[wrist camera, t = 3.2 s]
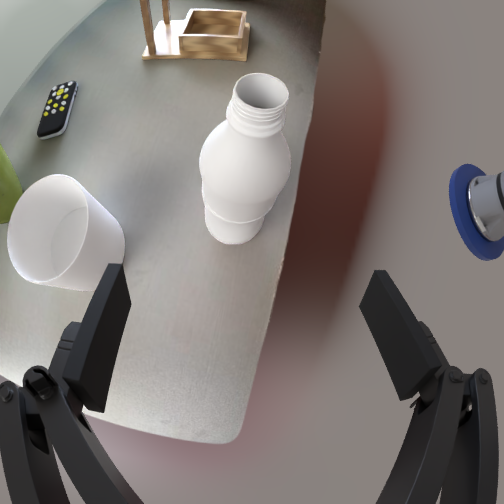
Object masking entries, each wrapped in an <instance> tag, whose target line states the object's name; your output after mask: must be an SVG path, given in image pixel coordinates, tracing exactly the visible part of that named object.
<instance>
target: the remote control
mask: <svg viewBox="0 0 504 504" xmlns="http://www.w3.org/2000/svg"><path fill="white" fill-rule="evenodd" d="M77 89H78V85H77V83H76V82H75V81H70V82H66V83H63V84H60V85H57V86H55V87H54V88H53V89H52V90H51V92H50V95H49V97H48V100H47V103H46V106H45V109H44V111H43V115H42V118H41V121H40V124H39V127H38V131H37V135H38V137H39V138H40V139H42V140H44V139H48V138H51V137H54V136H58V135H60V134H62V133H63V132H64V131H65V129H66V127H67V123H68V119H69V115H70V112H71V108H72V105H73V101H74V98H75V95H76V92H77Z"/></svg>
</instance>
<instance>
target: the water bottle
mask: <svg viewBox="0 0 504 504" xmlns="http://www.w3.org/2000/svg"><path fill="white" fill-rule="evenodd" d="M288 100H289V91H288V89H287V87H286V85H285V84H284V83H283V82H282V81H280V80H279V79H278V78H276V77H274V76H271V75H269V74H263V73H251V74H247V75H245V76H243V77H241V78H240V79H239V80H238V81H237V82H236V83H235V87H234V89H233V96H232V99H231V101H230V103H229V105H228V107H227V110H226V119H227V120H225V121H224V122H222V123H221V124H220V125H219V126H218V127H216V128H215V129H214V130H213V131H212V132H211V134H210V135H209V136H208V137H207V139H206V141H205V143H204V145H203V147H202V150H201V154H200V160H199V167H200V173H201V177H202V197H203V201H204V204H205V222H206V225H207V228H208V230H209V232H210V233H211V234H212V235H213V237H215V238H216V239H217V240H218V241H220V242H222V243H225V244H243V243H245V242H248V241H249V240H251V239H252V238H253V237H254V236H255V235H256V234H257V233H258V232H259V230H260V228H261V226H262V224H263V222H264V215H265V214H267V213H268V212H269V211H270V210H271V208H272V207H273V206H274V204H275V201H276V198H277V196H278V194H279V193H280V192H281V190H282V189H283V188H284V186H285V185H286V183H287V180H288V178H289V175H290V170H291V155H290V150H289V147H288V144H287V142H286V139H285V137H284V135H283V134H282V132H281V130H282V128H283V126H284V124H285V120H286V116H285V113H286V112H285V109H286V105H287V103H288Z"/></svg>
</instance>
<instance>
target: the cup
mask: <svg viewBox="0 0 504 504" xmlns="http://www.w3.org/2000/svg"><path fill="white" fill-rule="evenodd" d="M7 245H8V251H9V256H10V259H11V262H12V264H13V266H14V268H15V269H16V271H17V272H18V273H19V274H20V275H21V276H22V277H23V278H24V279H26V280H27V281H29V282H31V283H36V284H41V285H47V286H53V287H59V288H65V289H71V290H78V291H94V290H96V288H97V286H98V284H99V282H100V280H101V278H102V276H103V274H104V271H105V269H106V267H107V265H108V263H116V264H122V262H123V258H124V253H125V240H124V234H123V231H122V228H121V226H120V225H119V223H118V221H117V220H116V219H115V218H114V217H113V216H112V215H111V214H110V213H109V212H108V211H107V210H106V209H105V208H104V207H103V206H102V205H101V204H100V203H99V202H98V201H97V200H96V199H95V198H94V197H93V196H92V195H91V194H90V193H89V192H88V191H87V190H86V189H85V188H84V187H83V186H82V185H81V184H80V183H79V182H78V181H77V180H75V179H73V178H72V177H70V176H66V175H63V174H53V175H50V176H46V177H44V178H42V179H40V180H38V181H36V182H35V183H34V184H32V185H31V186H30V187H29V188H28V189H27V190H26V191H25V192H24V193H23V194H22V196H21V197H20V199H19V200H18V202H17V204H16V206H15V208H14V210H13V212H12V215H11V218H10V222H9V226H8V233H7Z"/></svg>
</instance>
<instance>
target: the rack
mask: <svg viewBox="0 0 504 504" xmlns="http://www.w3.org/2000/svg"><path fill="white" fill-rule="evenodd" d="M140 5H141V11H142V18H143V24H144V29H145V35H146V40H147V47H146V49H145V51H144V53H143V55H142V59H143V60H149V59H177V58H192V59H220V60H234V61H245V62H246V59H247V50H248V40H249V31H250V23H245V19H246V11H237V10H221V9H190V11H189V13H188V15H187V17H186V20H176V21H171V19H170V7H169V0H162V6H163V17H164V21H160V22H159V24H158V26H157V28H156V30H155V31H154V32H153V26H152V19H151V11H150V4H149V0H140Z"/></svg>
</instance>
